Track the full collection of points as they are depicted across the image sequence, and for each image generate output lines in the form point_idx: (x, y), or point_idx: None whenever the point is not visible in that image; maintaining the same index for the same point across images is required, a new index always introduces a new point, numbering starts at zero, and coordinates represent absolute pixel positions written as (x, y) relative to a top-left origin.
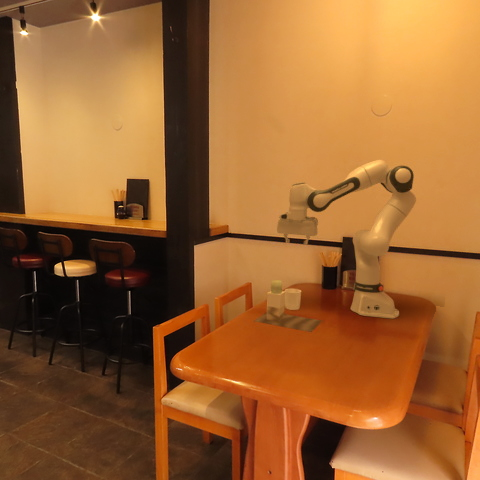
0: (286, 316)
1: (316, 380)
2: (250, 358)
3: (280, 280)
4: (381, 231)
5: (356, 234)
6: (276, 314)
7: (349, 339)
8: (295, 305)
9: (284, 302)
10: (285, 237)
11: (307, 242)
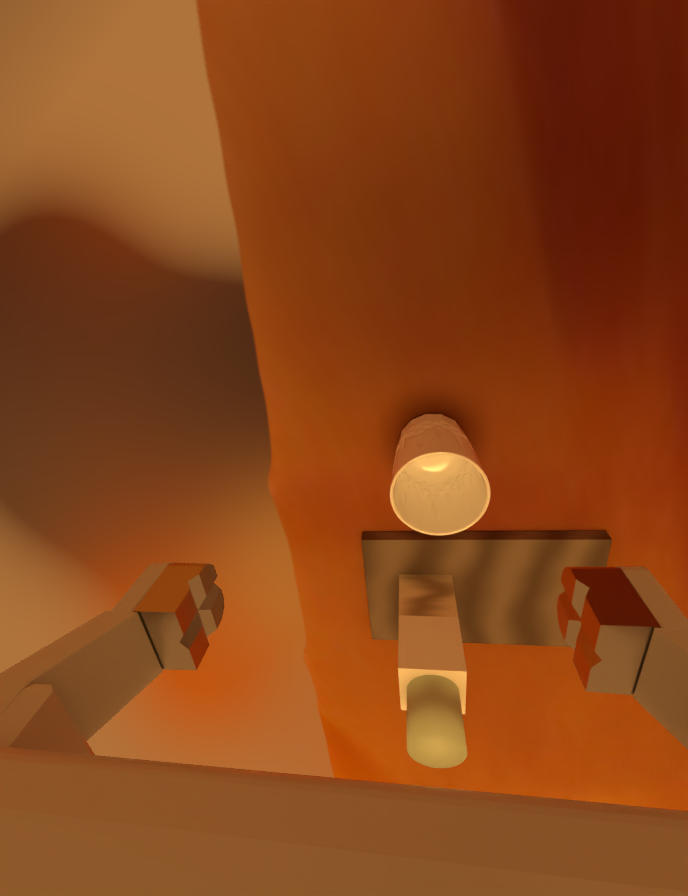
0: (454, 560)
1: (641, 804)
2: (474, 773)
3: (448, 736)
4: None
5: None
6: None
7: None
8: (459, 482)
9: (459, 628)
10: (107, 713)
11: (663, 599)
